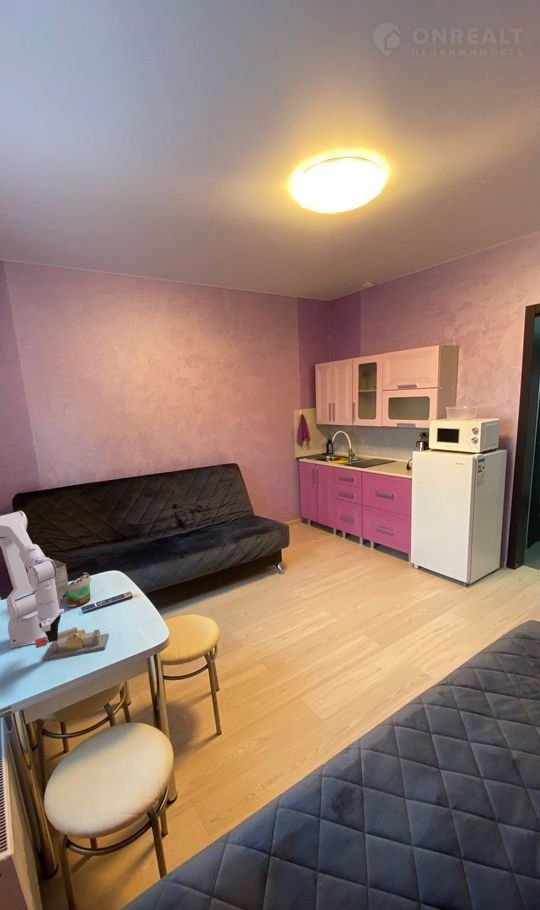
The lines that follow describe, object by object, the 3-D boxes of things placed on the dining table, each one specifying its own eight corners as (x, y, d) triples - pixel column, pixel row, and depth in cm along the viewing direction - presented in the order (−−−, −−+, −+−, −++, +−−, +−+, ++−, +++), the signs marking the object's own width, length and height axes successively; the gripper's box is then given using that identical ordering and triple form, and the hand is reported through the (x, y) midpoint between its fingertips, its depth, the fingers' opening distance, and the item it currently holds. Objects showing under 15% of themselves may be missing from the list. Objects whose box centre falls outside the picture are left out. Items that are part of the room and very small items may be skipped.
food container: (80, 611, 147) (76, 587, 145) (66, 610, 148) (62, 586, 147) (100, 594, 159) (97, 572, 157) (87, 594, 160) (84, 571, 158)
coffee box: (44, 601, 156) (38, 564, 153) (60, 594, 161) (54, 558, 159) (55, 607, 151) (49, 569, 148) (71, 600, 156) (65, 562, 153)
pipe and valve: (51, 654, 121) (49, 643, 120) (55, 646, 125) (54, 634, 125) (98, 645, 124) (97, 634, 123) (101, 637, 128) (99, 626, 128)
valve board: (43, 661, 119) (42, 658, 119) (50, 646, 126) (50, 644, 126) (104, 649, 123) (104, 646, 123) (108, 636, 130) (108, 633, 130)
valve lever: (77, 631, 125) (76, 625, 125) (78, 634, 123) (77, 628, 123) (36, 646, 119) (35, 639, 119) (36, 649, 117) (35, 643, 117)
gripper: (58, 607, 112) (65, 649, 114) (64, 586, 126) (70, 624, 128) (30, 614, 110) (38, 657, 112) (39, 592, 123) (46, 630, 125)
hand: (53, 640), depth 119 cm, fingers closed, pressing on valve lever
